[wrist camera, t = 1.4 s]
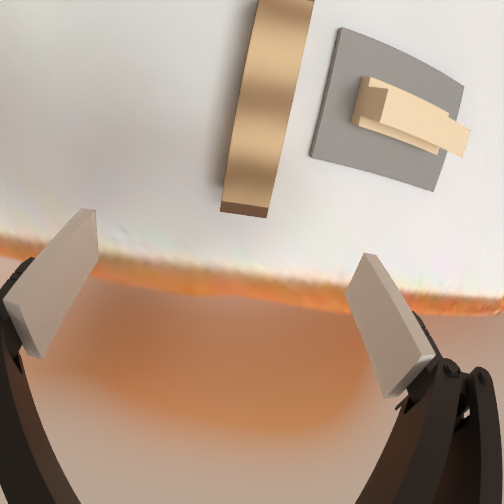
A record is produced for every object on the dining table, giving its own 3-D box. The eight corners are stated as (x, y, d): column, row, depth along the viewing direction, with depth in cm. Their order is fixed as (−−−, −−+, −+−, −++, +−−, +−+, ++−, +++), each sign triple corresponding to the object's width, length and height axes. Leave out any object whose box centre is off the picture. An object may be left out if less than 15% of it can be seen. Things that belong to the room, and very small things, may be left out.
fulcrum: (338, 28, 21) (367, 16, 15) (459, 85, 23) (499, 94, 17) (309, 155, 28) (328, 176, 22) (429, 188, 30) (461, 214, 24)
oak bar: (259, 0, 19) (264, -20, 14) (300, 8, 20) (316, -8, 15) (223, 187, 30) (219, 211, 25) (261, 193, 30) (266, 218, 25)
